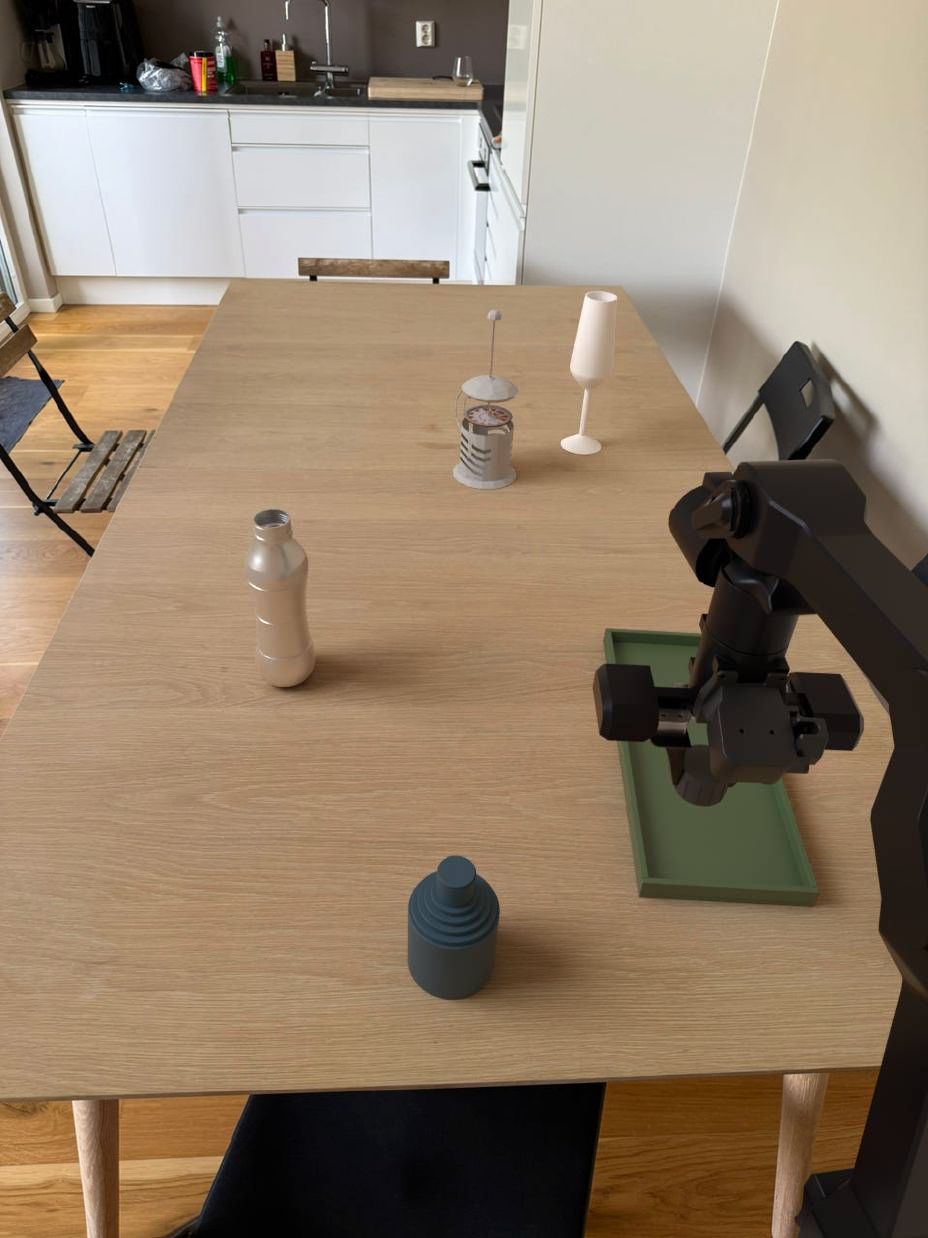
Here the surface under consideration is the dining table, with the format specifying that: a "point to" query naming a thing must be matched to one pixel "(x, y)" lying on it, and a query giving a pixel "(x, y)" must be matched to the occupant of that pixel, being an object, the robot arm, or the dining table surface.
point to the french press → (486, 430)
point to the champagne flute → (592, 360)
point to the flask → (452, 930)
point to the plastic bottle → (279, 600)
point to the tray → (703, 808)
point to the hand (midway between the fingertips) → (700, 782)
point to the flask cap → (700, 779)
